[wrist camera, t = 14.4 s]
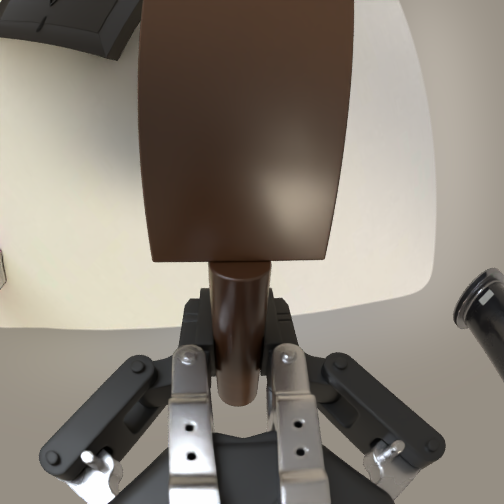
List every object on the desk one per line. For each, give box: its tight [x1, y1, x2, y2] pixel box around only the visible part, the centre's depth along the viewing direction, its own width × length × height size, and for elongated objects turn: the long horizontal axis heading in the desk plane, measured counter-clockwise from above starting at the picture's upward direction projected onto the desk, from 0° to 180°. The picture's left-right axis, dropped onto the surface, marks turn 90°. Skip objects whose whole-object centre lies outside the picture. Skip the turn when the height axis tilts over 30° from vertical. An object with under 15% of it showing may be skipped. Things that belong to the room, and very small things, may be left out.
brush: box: [138, 0, 354, 407], centre depth 9 cm, size 18×6×4 cm, turn 177°
